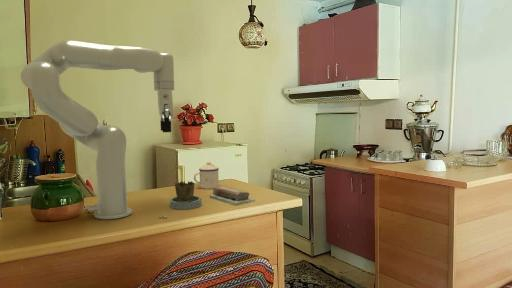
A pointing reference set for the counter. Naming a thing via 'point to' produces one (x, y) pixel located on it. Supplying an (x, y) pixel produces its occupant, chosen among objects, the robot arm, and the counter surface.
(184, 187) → the dark rounded textured piece
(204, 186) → the teacup with lid
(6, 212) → the counter surface
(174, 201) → the blue-grey plate
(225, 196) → the packaged product
